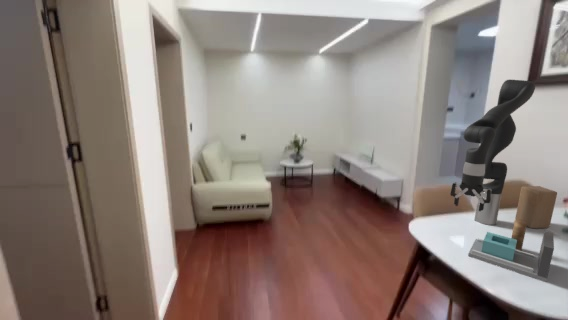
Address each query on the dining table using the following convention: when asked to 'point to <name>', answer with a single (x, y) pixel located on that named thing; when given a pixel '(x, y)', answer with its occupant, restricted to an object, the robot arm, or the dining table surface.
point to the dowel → (519, 233)
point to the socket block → (499, 246)
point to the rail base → (521, 258)
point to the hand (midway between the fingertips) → (468, 208)
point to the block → (536, 206)
